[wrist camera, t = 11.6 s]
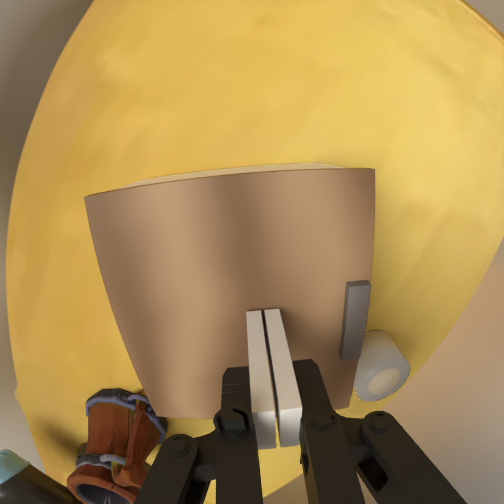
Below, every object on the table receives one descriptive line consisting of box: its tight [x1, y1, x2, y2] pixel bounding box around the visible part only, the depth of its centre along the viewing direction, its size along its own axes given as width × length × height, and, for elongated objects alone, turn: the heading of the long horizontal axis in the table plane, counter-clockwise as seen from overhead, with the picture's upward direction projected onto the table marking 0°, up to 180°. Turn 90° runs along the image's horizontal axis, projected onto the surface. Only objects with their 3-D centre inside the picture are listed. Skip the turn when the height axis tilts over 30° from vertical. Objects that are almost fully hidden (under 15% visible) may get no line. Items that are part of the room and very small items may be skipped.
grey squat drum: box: [353, 330, 410, 401], centre depth 26 cm, size 6×6×5 cm
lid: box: [84, 168, 375, 419], centre depth 15 cm, size 14×16×1 cm
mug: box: [67, 389, 167, 504], centre depth 23 cm, size 18×12×15 cm, turn 142°
